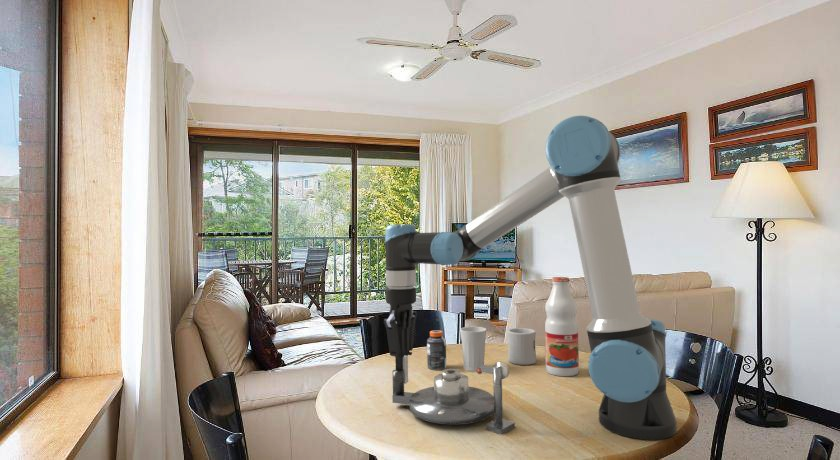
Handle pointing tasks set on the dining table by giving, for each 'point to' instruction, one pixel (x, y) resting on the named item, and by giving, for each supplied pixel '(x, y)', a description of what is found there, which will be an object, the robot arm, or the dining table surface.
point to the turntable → (431, 411)
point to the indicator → (498, 397)
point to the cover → (451, 388)
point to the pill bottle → (436, 350)
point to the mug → (521, 346)
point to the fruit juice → (561, 330)
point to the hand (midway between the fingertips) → (401, 382)
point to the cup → (473, 347)
